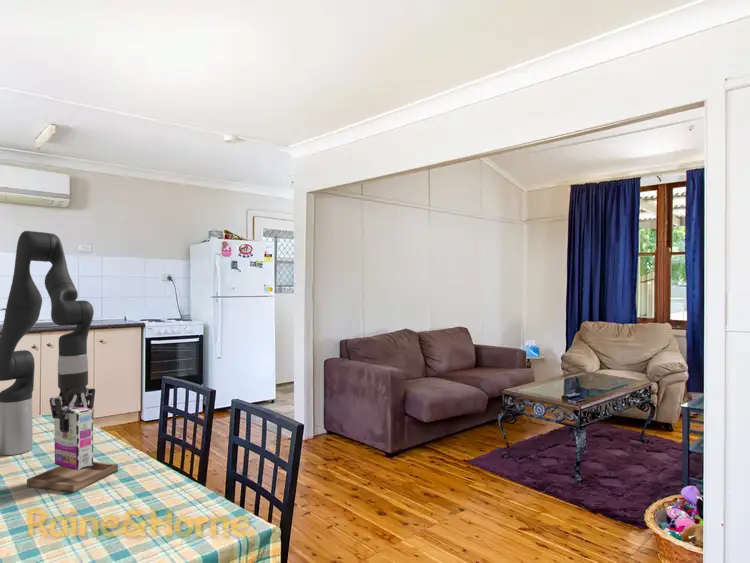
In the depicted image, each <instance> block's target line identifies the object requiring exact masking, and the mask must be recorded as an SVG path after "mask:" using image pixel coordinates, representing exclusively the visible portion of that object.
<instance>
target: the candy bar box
mask: <svg viewBox="0 0 750 563" xmlns="http://www.w3.org/2000/svg"><path fill="white" fill-rule="evenodd" d="M65 408H67V406H65ZM64 414H65V412H64ZM93 416H94V409H93V408H92V409H89V408H83V407H76V406H73V409H72V411H69V417H68V419H69V432H66V433H65V432H61V431H60V420H59V419H57V418H53V419H54V422H53V423H54V464H55V466H62V467H66V468H70V469H74V470H81V469H84V468H87V467H90V466H93V462H94V417H93Z"/></svg>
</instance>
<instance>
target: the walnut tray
mask: <svg viewBox="0 0 750 563" xmlns="http://www.w3.org/2000/svg"><path fill="white" fill-rule="evenodd" d="M118 471H119V464H117V463H109V462H98V461H93V466H90V467H87V468H84V469H81V470H74V469H70V468H66V467H62V466H59V465H57V466H55V467H53V468H50V469H48V470H46V471H43V472H42V473H39V474H37V475H34V476H32V477H30V478H27V479H26V487H27V488H35V489H43V490H50V491H57V492H62V493H63V492H65V493H72V494H75V493H76V492H79V491H81V490H82V489H85V488H87V487H89V486H91V485H93V484H95V483H97V482H99V481H101V480H103V479H106V478H107V477H109V476H111V475H113V474H115V473H118Z"/></svg>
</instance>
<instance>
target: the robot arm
mask: <svg viewBox="0 0 750 563" xmlns="http://www.w3.org/2000/svg"><path fill="white" fill-rule="evenodd" d="M66 259H67V258H66V256H65V252H64V247H63V244H62V240H61V239H60V237H59V236H58V235H56V234H55V233H52V232H51V233H49V232H43V231H33V230H25V231H22V232H21V233H20V235H19V236H18V240H17V244H16V251H15V260H14V269H13V276H12V282H11V286H10V289H9V294H8V297H7V301H6V302H7V303H6V306H5V307H6V308H5V311H4V312H5V313H4V318H3V323H2V329H1V333H0V382H4V381H12V380H15V381H14V382H13V384H11V385H10V386H8V387H7V388H4V389H3V390H1V391H0V455H1V456H14V455H15V456H16V455H19V454H24V453H27V452H30V451H31V450H33V448H34V447H33V446H34V445H33V444H34V443H33V442H34V441H33V440H34V439H33V437H34V436H33V435H34V434H33V432H34V431H33V427H34V426H33V392H34V387H35V385H34V383H35V358H34V355H33V353H32V352H31V351H29V350H27V349H25V350H24V349H23V350H16V348H17V346H18V343H19V342H20V341H21V340H22V338H24V337H25V335H26V334H27V333H28V332H29V331H30V330H31V329H33V327H34V326H35V325H36V323H37V322H38V320H39V317H40V313H41V309H42V305H43V297H42V294H41V292H40V290H39V289H38V287H37V285H36V284H35V282H34V280H33V278H32V275H31V268H30V267H31V262H45V263H46V262H48V263H50V264H51V267H50V269H49V270H48V272H47V273H46V274H45V277H44V286H45V289H46V291H47V294H48V296H49V299H50V305H51V308H50V319H51V321H52V322H53V323H54V324H55V325H56V326H59V327H68V326H69V327H70V326H76V327H75V329H74V330H73V331H72V332H68V333H64V334H62V335H60V336H59V337H58V359H57V388H59V389H58V390H60V391H59V394H58V395H57V396H55V397H50V399H49V407H50V410H51V415H52V418H53V419H54V418H57V419H59V420H60V431H61V432H65V433H66V432H69V419H68V417H69V411H72V409H73V406H76V407H83V408H89V409H93V408H94V402H95V396H96V389H95V388H90V387H89V388H87V386H88V385H89V361H88V359H89V358H88V352H87V351H88V337H89V332H90V328H91V324H92V323H93V318H94V314H95V313H94V307H93V304H92V303H91V302H90V301H88V300H77V299H78V296H79V295H78V294H79V293H78V291H77V287H76V286H75V284H74V282H73V280H72V278H71V276H70V273H69V269H68V265H67V261H66ZM65 406H67V408H65ZM64 412H65V414H64Z"/></svg>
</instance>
